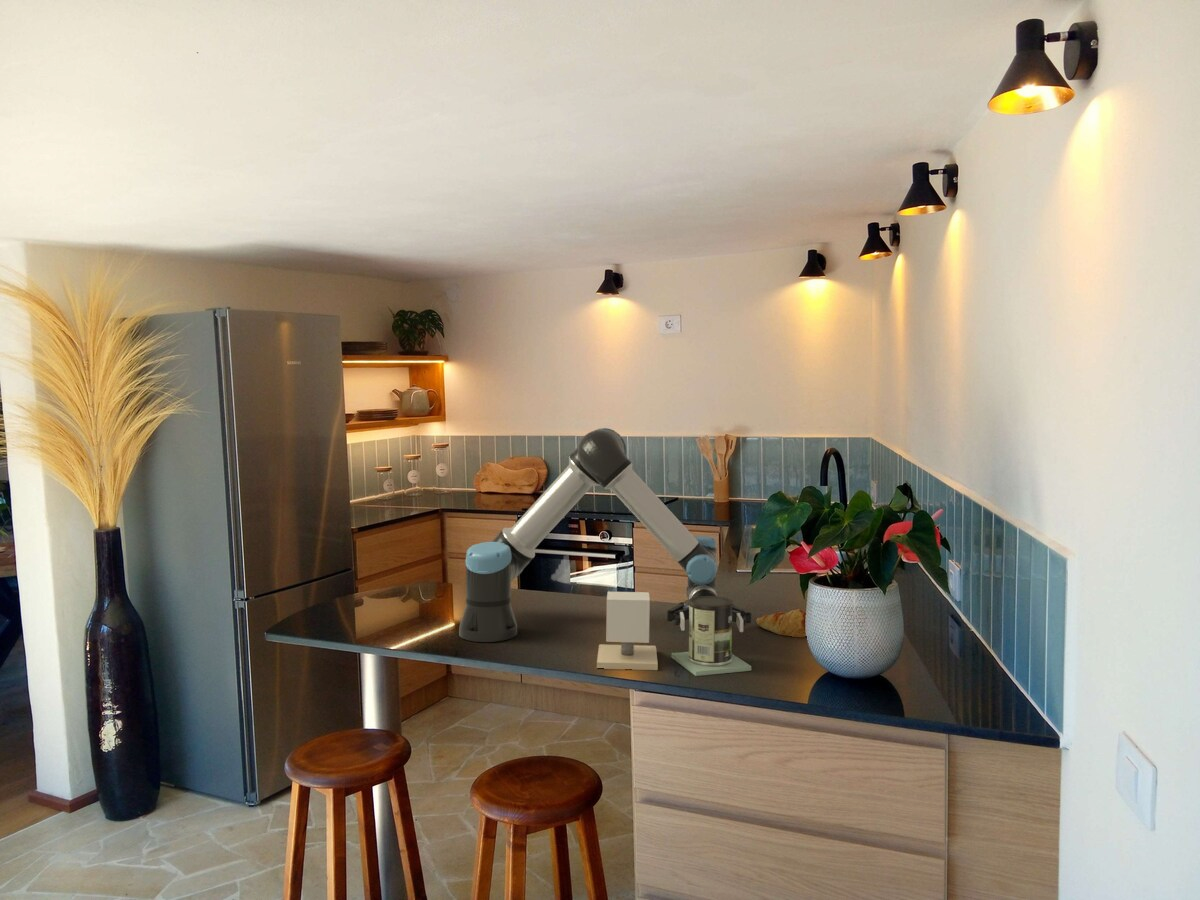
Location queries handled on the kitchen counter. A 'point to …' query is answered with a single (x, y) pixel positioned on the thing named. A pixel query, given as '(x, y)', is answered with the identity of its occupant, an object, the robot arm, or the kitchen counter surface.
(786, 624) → the croissant
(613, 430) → the robot arm
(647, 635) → the mounted unit
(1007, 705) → the kitchen counter surface
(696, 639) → the coffee can
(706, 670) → the sage mat
